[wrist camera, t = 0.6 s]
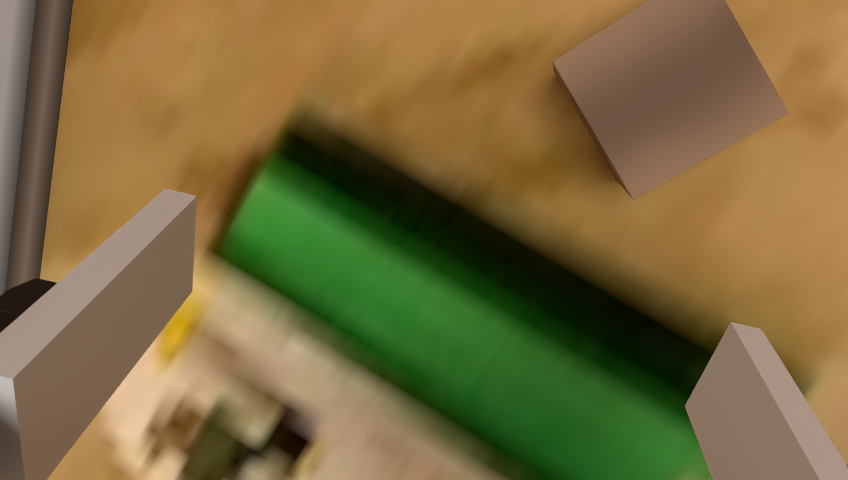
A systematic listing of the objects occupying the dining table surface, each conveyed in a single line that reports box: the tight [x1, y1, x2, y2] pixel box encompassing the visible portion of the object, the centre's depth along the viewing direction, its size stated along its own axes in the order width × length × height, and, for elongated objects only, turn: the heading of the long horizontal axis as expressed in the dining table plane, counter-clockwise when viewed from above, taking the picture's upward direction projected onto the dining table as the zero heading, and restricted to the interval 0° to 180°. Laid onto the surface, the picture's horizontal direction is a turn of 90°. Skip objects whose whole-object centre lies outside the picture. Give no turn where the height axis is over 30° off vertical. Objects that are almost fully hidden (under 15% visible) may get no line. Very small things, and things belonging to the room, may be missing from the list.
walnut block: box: [553, 0, 789, 199], centre depth 27 cm, size 6×6×7 cm
